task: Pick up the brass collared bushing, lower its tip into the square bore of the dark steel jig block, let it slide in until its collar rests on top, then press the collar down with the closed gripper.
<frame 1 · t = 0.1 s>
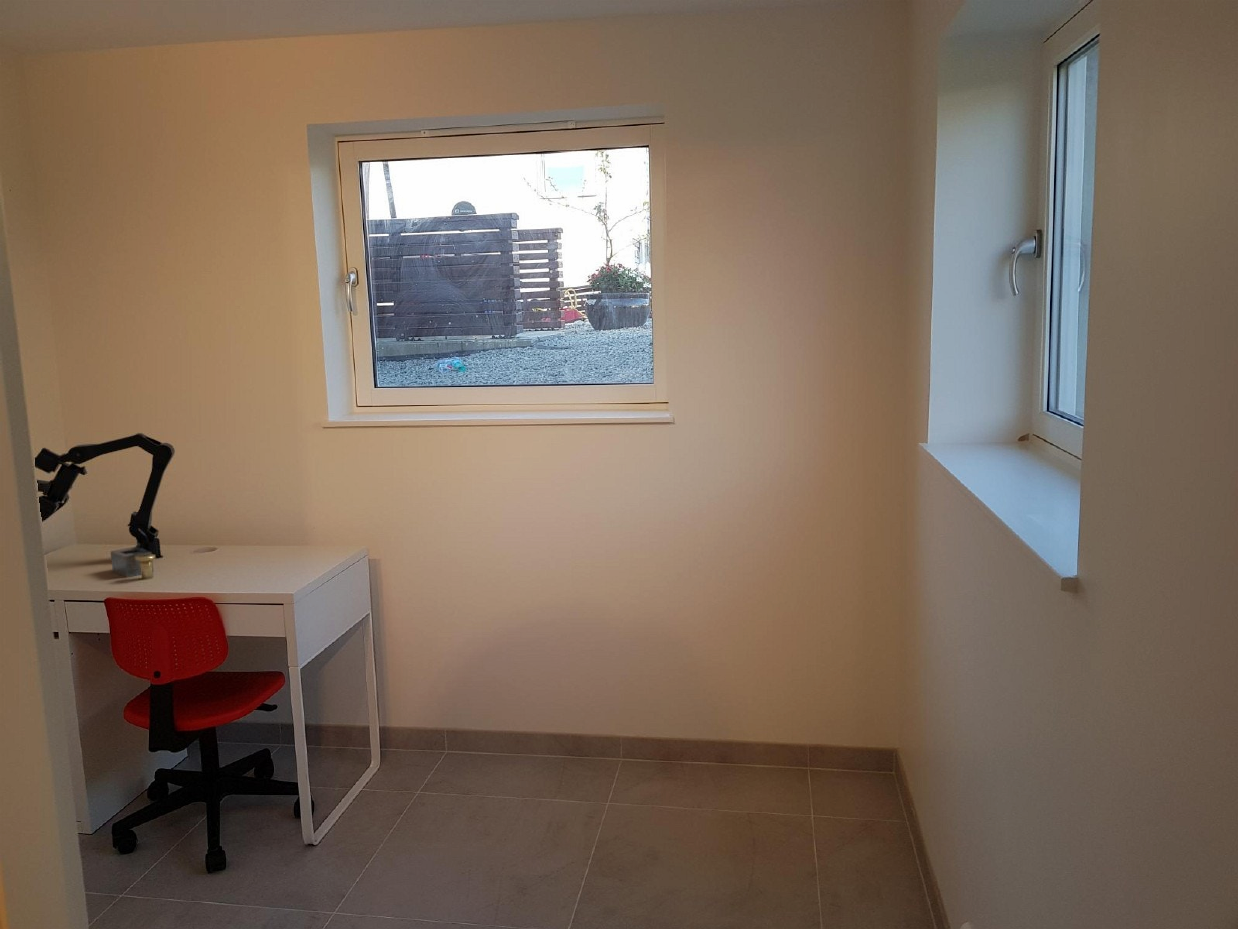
hand: (39, 522, 319), 15 cm above the table, tool tilted 35°, fingers open, 9 cm apart
bushing: (147, 578, 303), on the table
jig: (133, 571, 311), on the table
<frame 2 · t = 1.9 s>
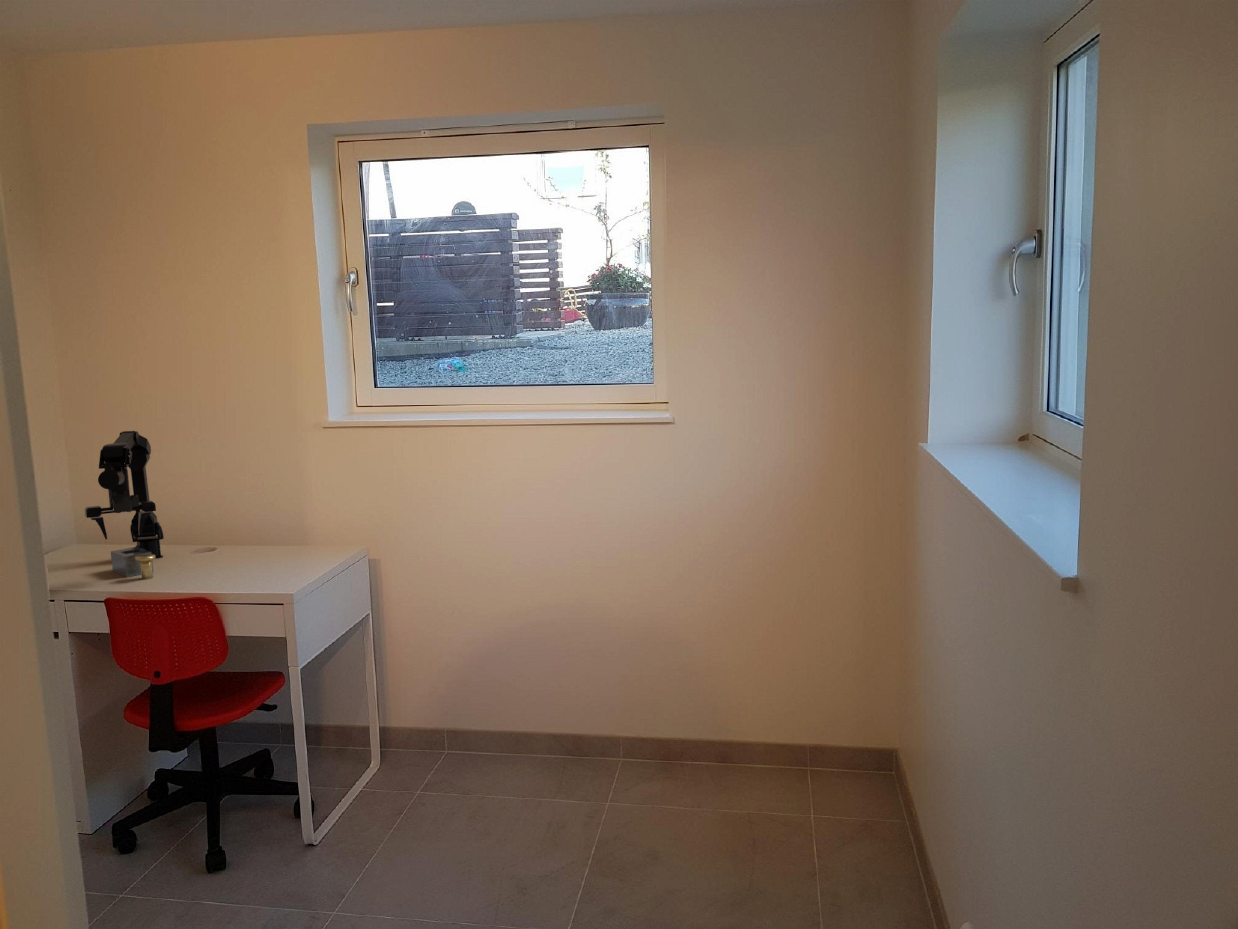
hand: (123, 537, 299), 13 cm above the table, tool pointing down, fingers open, 9 cm apart
nothing on the table moved.
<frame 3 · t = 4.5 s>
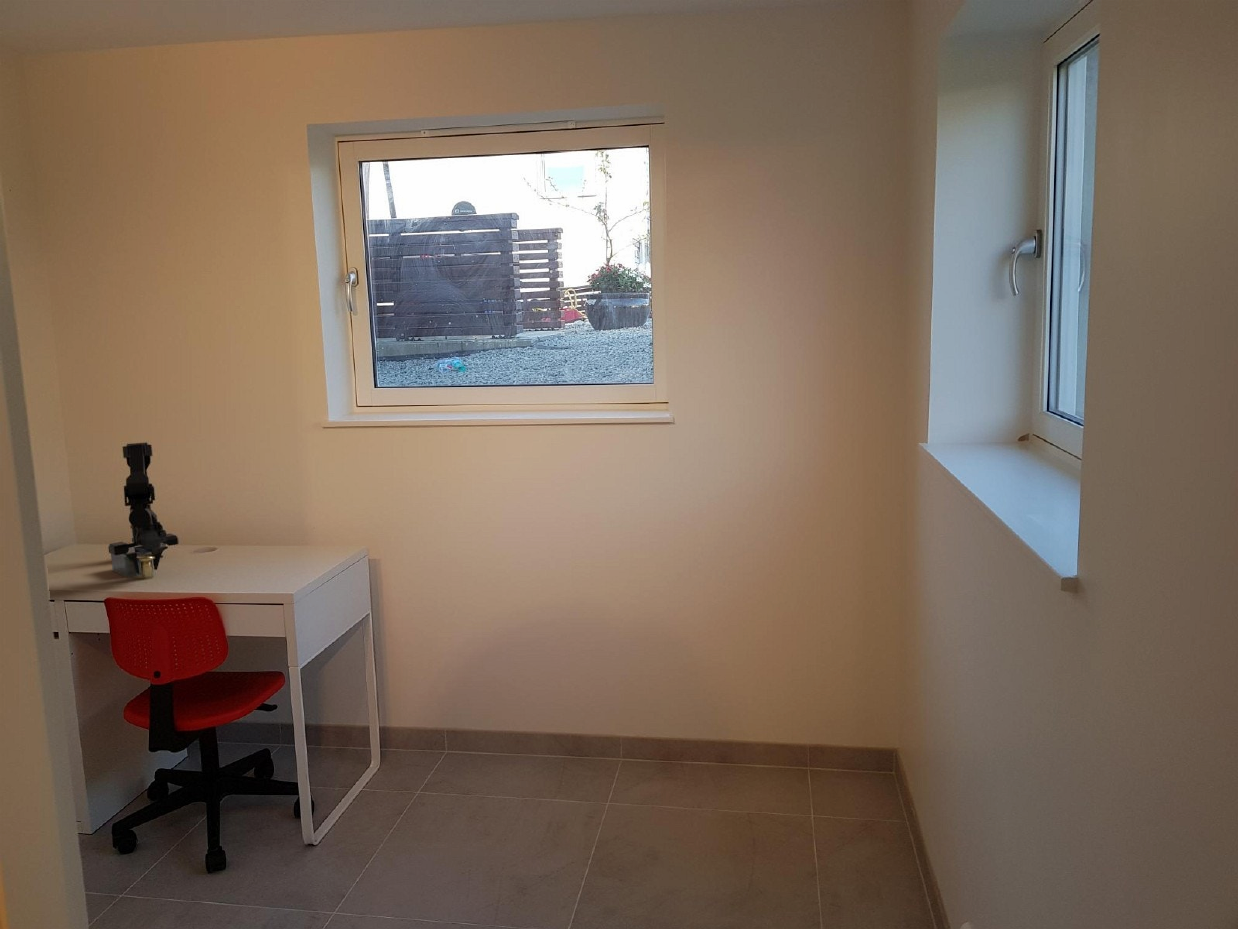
hand: (146, 571, 302), 2 cm above the table, tool pointing down, fingers closed on bushing, 5 cm apart
bushing: (147, 578, 303), on the table, touching gripper
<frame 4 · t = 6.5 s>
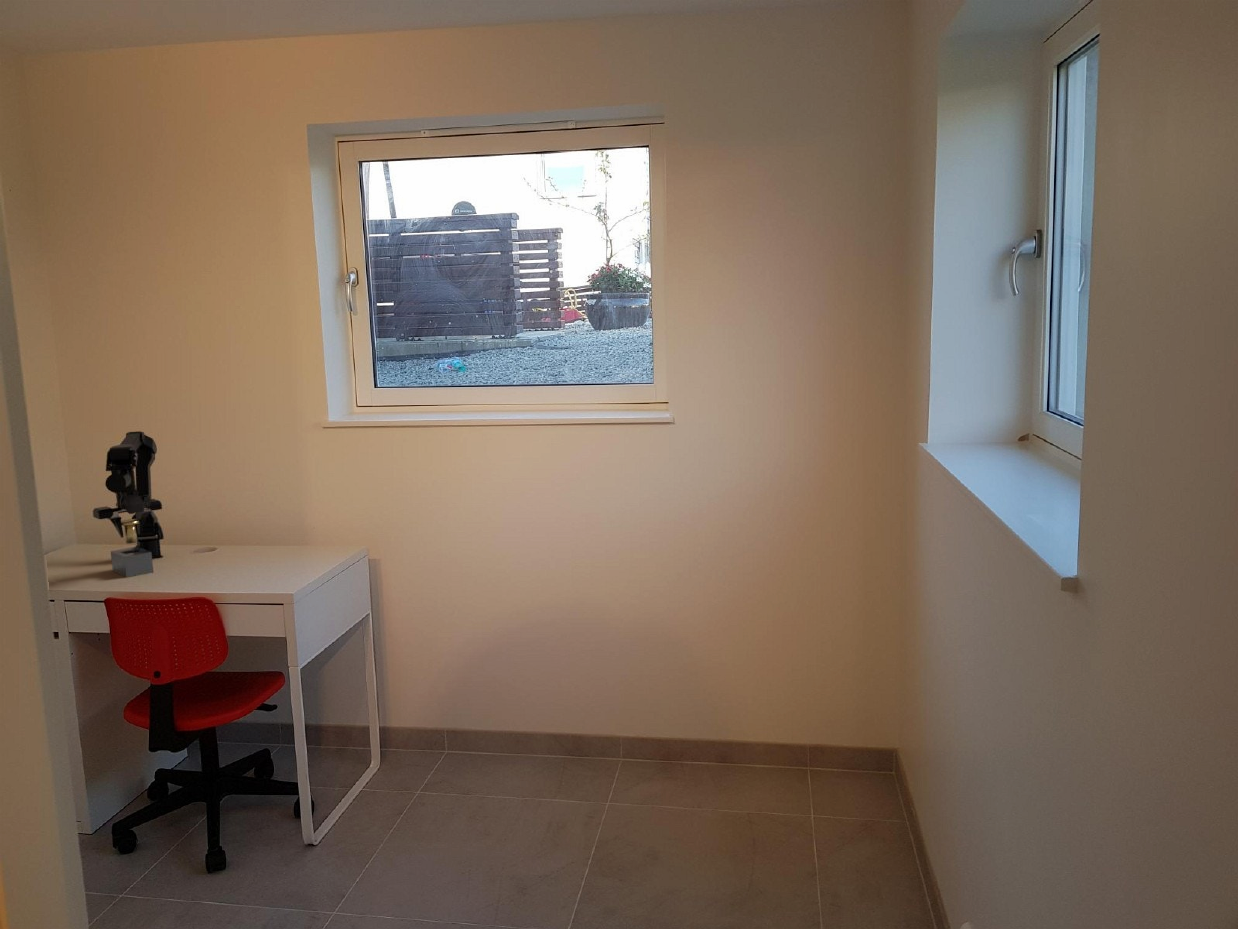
hand: (130, 535, 309), 12 cm above the table, tool pointing down, fingers closed on bushing, 5 cm apart
bushing: (131, 542, 309), point 10 cm above the table, touching gripper
when the fingers open (7 cm above the table, at t = 8.6 s): bushing drops 4 cm, resting on jig.
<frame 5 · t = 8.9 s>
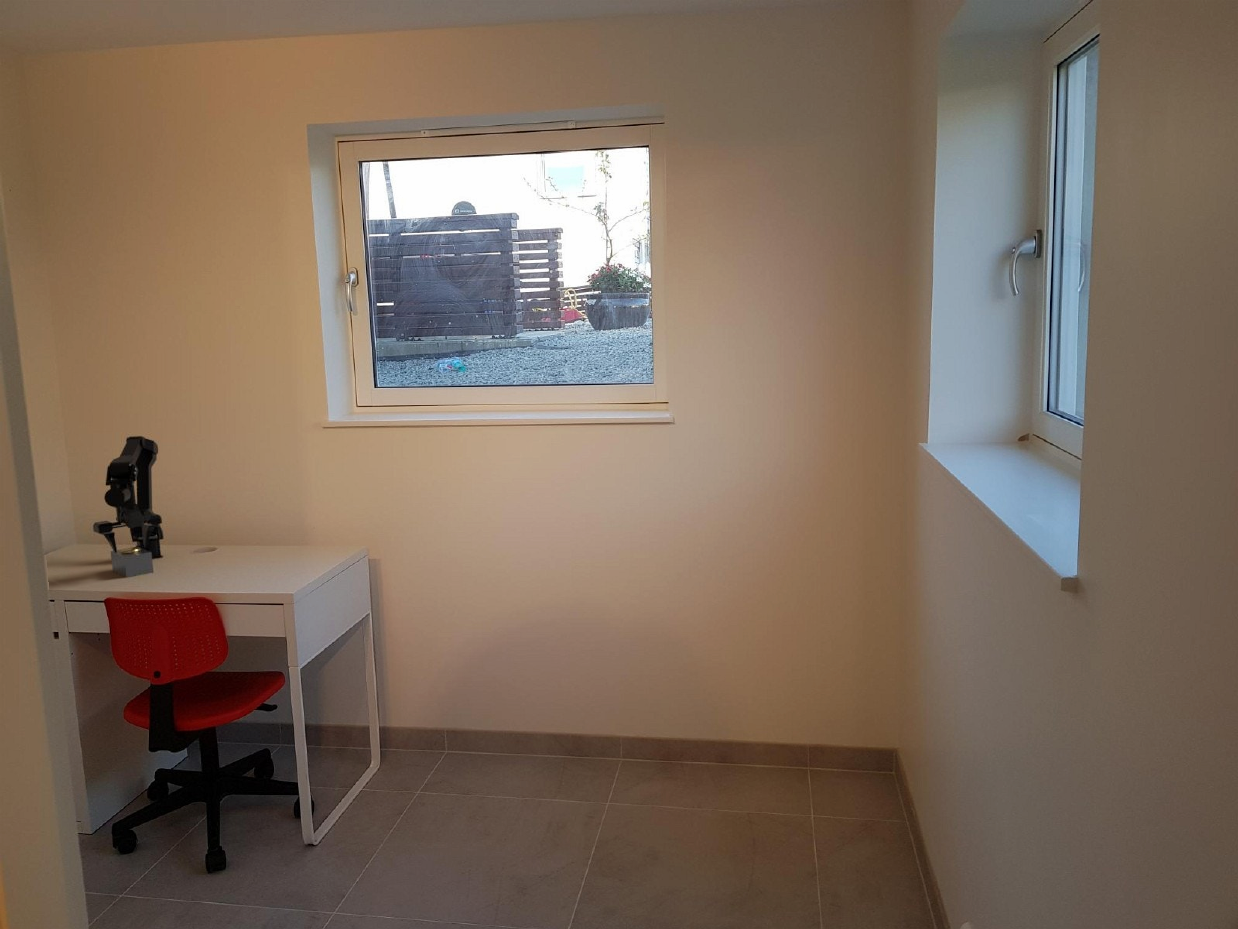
hand: (130, 550, 310), 7 cm above the table, tool pointing down, fingers open, 9 cm apart
bushing: (132, 570, 311), resting on jig
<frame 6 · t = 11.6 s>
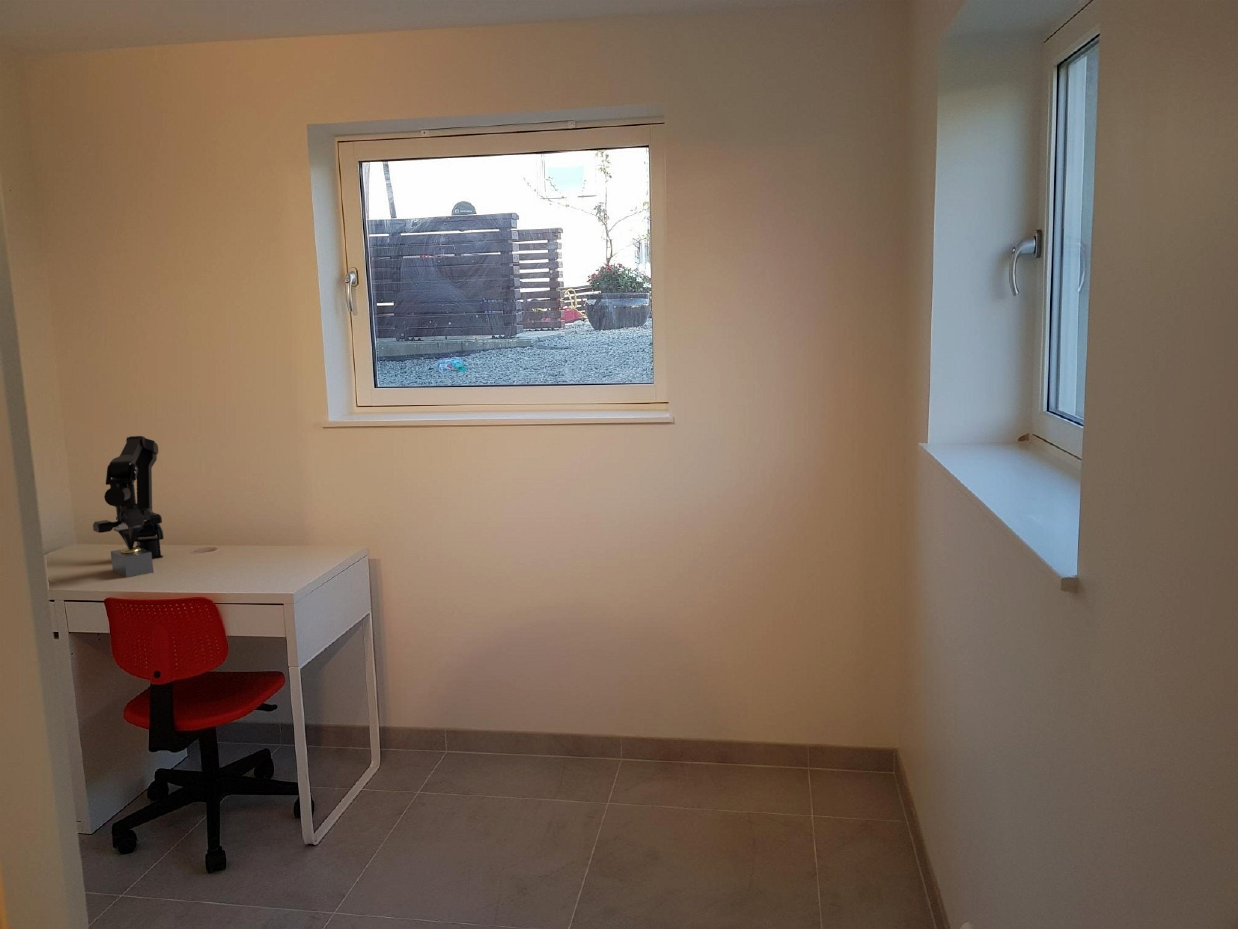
hand: (130, 549, 310), 7 cm above the table, tool pointing down, fingers closed, pressing on bushing
bushing: (132, 570, 311), resting on jig, touching gripper
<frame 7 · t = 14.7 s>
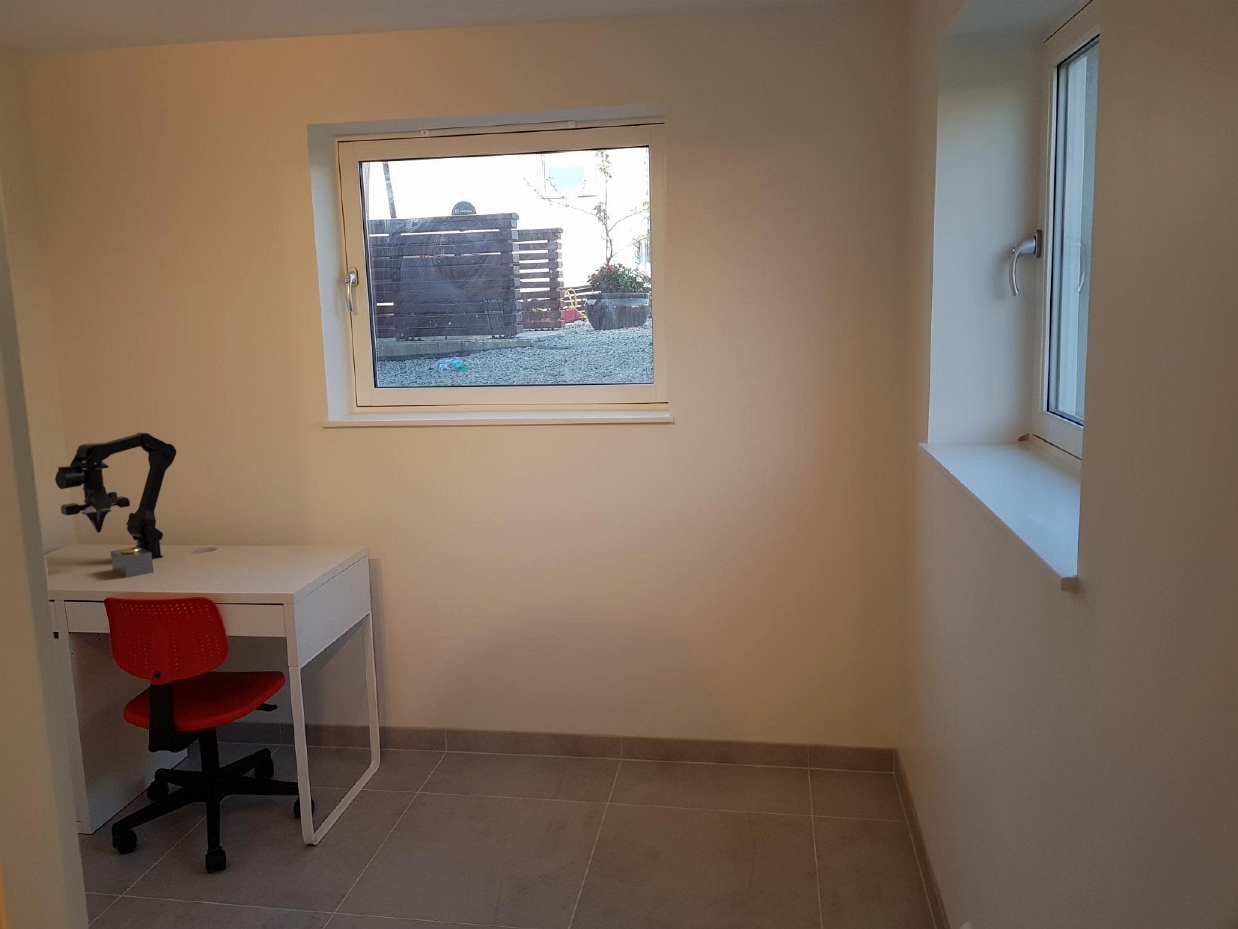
hand: (98, 532, 314), 12 cm above the table, tool pointing down, fingers closed
bushing: (132, 570, 311), resting on jig
at the end: bushing 0.0 cm off-centre on the jig, point 0.5 cm above the jig's base; bushing tilted 0°; the gripper is holding nothing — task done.
